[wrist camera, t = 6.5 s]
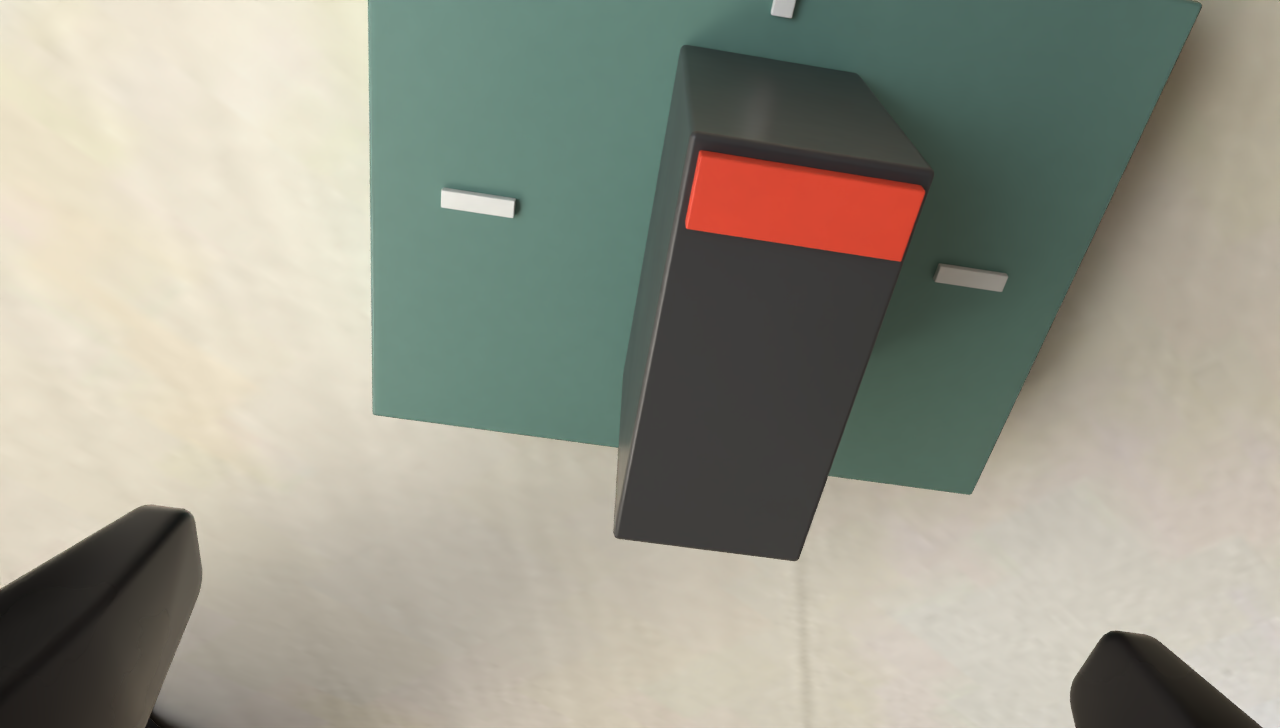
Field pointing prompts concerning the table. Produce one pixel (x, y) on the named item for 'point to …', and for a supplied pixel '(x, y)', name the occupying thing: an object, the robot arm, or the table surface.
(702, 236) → the block
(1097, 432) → the table surface
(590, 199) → the green flat block
